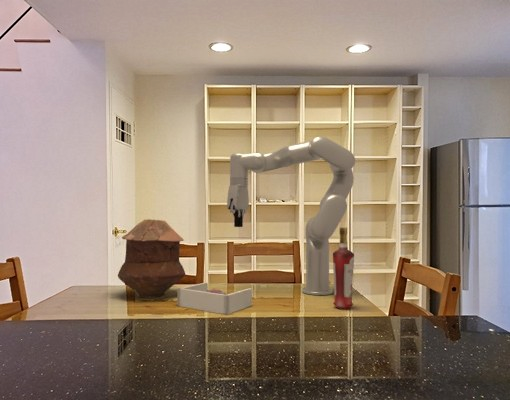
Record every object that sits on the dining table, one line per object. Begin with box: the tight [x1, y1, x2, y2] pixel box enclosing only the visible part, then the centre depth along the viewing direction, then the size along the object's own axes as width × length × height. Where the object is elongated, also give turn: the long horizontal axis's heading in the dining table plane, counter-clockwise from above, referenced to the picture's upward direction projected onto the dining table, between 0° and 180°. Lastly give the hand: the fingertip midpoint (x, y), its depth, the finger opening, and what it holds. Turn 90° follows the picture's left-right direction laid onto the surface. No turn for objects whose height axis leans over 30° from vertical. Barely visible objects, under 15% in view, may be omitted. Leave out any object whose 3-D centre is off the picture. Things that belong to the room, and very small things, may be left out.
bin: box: [176, 282, 253, 316], centre depth 138 cm, size 15×21×6 cm
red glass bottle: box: [332, 226, 355, 310], centre depth 137 cm, size 7×7×28 cm
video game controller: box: [206, 288, 228, 295], centre depth 137 cm, size 10×5×7 cm, turn 59°
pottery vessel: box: [117, 219, 186, 298], centre depth 156 cm, size 26×26×30 cm
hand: (238, 226), depth 163 cm, fingers closed
